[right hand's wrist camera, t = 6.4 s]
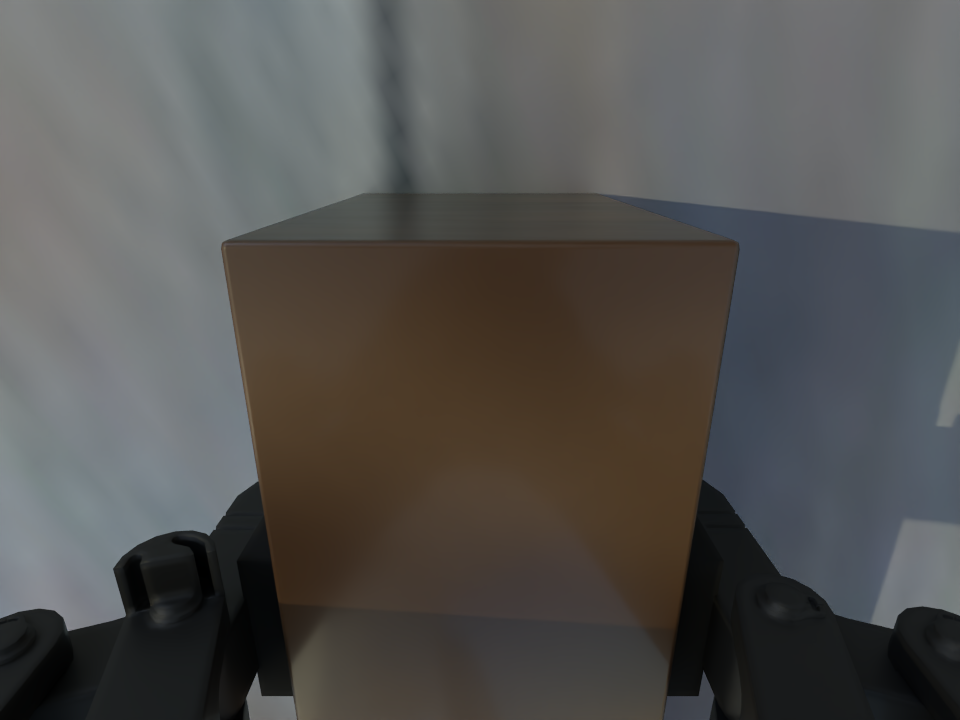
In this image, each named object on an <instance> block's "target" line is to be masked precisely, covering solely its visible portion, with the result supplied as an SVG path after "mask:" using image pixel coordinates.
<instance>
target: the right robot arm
mask: <svg viewBox="0 0 960 720" xmlns="http://www.w3.org/2000/svg"><path fill="white" fill-rule="evenodd" d="M113 570H114V574H115V577H116V581H117V584H118V588H119V591H120V595H121V598H122V602H123V605H124V609H125V612H126V616H125V617H124V618H120V619H117V620H114V621H110V622H106V623H101V624H97V625H93V626H89V627H84V628H80V629H76V630H72V631H67V628H66V625H65V622H64V619H63V617H62V616H60V615H59V614H58V613H57V612H55V611H53V610H45V609H34V610H28V611H22V612H17V613H15V614H12V615H9V616H6V617H3V618H1V619H0V720H250V718H249V711H248V705H247V700H246V697H247V694H248V692H249V690H250V687H251V685H252V683H253V680H254V678H255V676H256V673H258V678H259V683H260V689H261V694H262V696H293V691H292V685H291V678H290V672H289V666H288V660H287V653H286V647H285V641H284V635H283V629H282V622H281V616H280V610H279V604H278V598H277V591H276V585H275V579H274V573H273V567H272V560H271V554H270V548H269V542H268V536H267V529H266V523H265V517H264V511H263V505H262V498H261V492H260V486H259V482H257V483H255V484H254V485H252V486H251V487H250V488H248V489H247V490H245V491H244V492H243V493H241V494H240V495H238V496H237V498H236V499H235V501H234V502H233V503H232V505H231V506H230V508H229V509H228V510H227V512H226V516H223V518H222V519H221V520H220V522H219V523H218V525H217V526H216V530H213V532H212V533H211V534H210V536H208V535H207V534H205V533H201V532H197V531H175V532H171V533H168V534H164V535H160V536H156V537H154V538H152V539H150V540H148V541H145V542H143V543H141V544H139V545H137V546H136V547H135V548H133V549H132V550H130V551H129V552H128V553H126V554H125V555H124V556H122V558H121V559H120V560H119V562H118V563H117V564H116V566H115V567H114V568H113ZM703 670H704V672H705V674H706V677H707V679H708V681H709V684H710V686H711V688H712V691H713V693H714V700H713V705H712V710H711V715H710V720H960V616H959V615H956V614H953V613H950V612H948V611H945V610H941V609H935V608H929V607H923V606H922V607H914V608H907V609H906V610H904V611H903V612H902V613H901V614H899V615H898V617H897V620H896V623H895V626H894V629H890V628H886V627H882V626H877V625H873V624H869V623H864V622H860V621H856V620H852V619H848V618H844V617H841V616H838V615H835V614H834V613H833V612H832V610H831V609H830V607H829V606H828V604H827V603H826V601H825V600H824V599H823V598H821V597H820V596H819V595H818V594H817V593H816V592H814V591H813V590H812V589H811V588H809V587H807V586H805V585H803V584H801V583H799V582H797V581H796V580H794V579H790V578H787V577H784V576H781V575H780V574H779V572H778V571H777V569H776V568H775V567H774V565H773V564H772V562H771V561H770V560H769V558H768V557H767V555H766V554H765V553H764V551H763V550H762V548H761V547H760V546H759V544H758V543H757V541H756V540H755V538H754V537H753V536H752V534H751V533H750V531H749V530H748V529H747V528H745V524H744V523H743V522H742V520H741V519H740V517H739V516H738V515H737V514H735V510H734V509H733V508H732V506H731V505H730V503H729V502H728V501H727V499H726V498H725V496H724V495H723V494H722V493H721V492H719V491H718V490H716V489H715V488H714V487H712V486H711V485H709V484H708V483H706V482H705V481H704V480H702V484H701V490H700V496H699V502H698V508H697V514H696V521H695V527H694V533H693V539H692V545H691V551H690V558H689V564H688V570H687V576H686V582H685V588H684V595H683V601H682V607H681V613H680V619H679V625H678V632H677V638H676V644H675V650H674V656H673V662H672V669H671V675H670V681H669V687H668V693H667V696H699V691H700V685H701V680H702V675H703Z"/></svg>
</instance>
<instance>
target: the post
mask: <svg viewBox="0 0 960 720" xmlns="http://www.w3.org/2000/svg"><path fill="white" fill-rule="evenodd" d="M221 250H222V257H223V263H224V269H225V275H226V281H227V288H228V294H229V300H230V306H231V312H232V319H233V325H234V331H235V337H236V343H237V350H238V356H239V362H240V368H241V374H242V381H243V387H244V393H245V399H246V405H247V412H248V418H249V424H250V430H251V436H252V443H253V449H254V455H255V461H256V467H257V474H258V480H259V486H260V492H261V498H262V505H263V511H264V517H265V523H266V529H267V536H268V542H269V548H270V554H271V560H272V567H273V573H274V579H275V585H276V591H277V598H278V604H279V610H280V616H281V622H282V629H283V635H284V641H285V647H286V653H287V660H288V666H289V672H290V678H291V685H292V691H293V697H294V703H295V709H296V716H297V720H663V718H664V712H665V705H666V699H667V693H668V687H669V681H670V675H671V669H672V662H673V656H674V650H675V644H676V638H677V632H678V625H679V619H680V613H681V607H682V601H683V595H684V588H685V582H686V576H687V570H688V564H689V558H690V551H691V545H692V539H693V533H694V527H695V521H696V514H697V508H698V502H699V496H700V490H701V484H702V477H703V471H704V465H705V459H706V453H707V447H708V440H709V434H710V428H711V422H712V416H713V410H714V403H715V397H716V391H717V385H718V379H719V373H720V366H721V360H722V354H723V348H724V342H725V336H726V329H727V323H728V317H729V311H730V305H731V299H732V292H733V286H734V280H735V274H736V268H737V262H738V255H739V243H738V242H736V241H734V240H731V239H728V238H726V237H723V236H720V235H717V234H714V233H711V232H708V231H705V230H702V229H699V228H696V227H693V226H690V225H687V224H685V223H682V222H679V221H676V220H673V219H670V218H667V217H664V216H661V215H658V214H655V213H652V212H649V211H646V210H643V209H641V208H638V207H635V206H632V205H629V204H626V203H623V202H620V201H617V200H614V199H611V198H608V197H605V196H602V195H599V194H361V195H358V196H355V197H352V198H349V199H346V200H343V201H340V202H337V203H334V204H331V205H329V206H326V207H323V208H320V209H317V210H314V211H311V212H308V213H305V214H302V215H299V216H296V217H293V218H290V219H288V220H285V221H282V222H279V223H276V224H273V225H270V226H267V227H264V228H261V229H258V230H255V231H252V232H250V233H247V234H244V235H241V236H238V237H235V238H232V239H229V240H227V241H224V242H223V243H222V247H221Z"/></svg>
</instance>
